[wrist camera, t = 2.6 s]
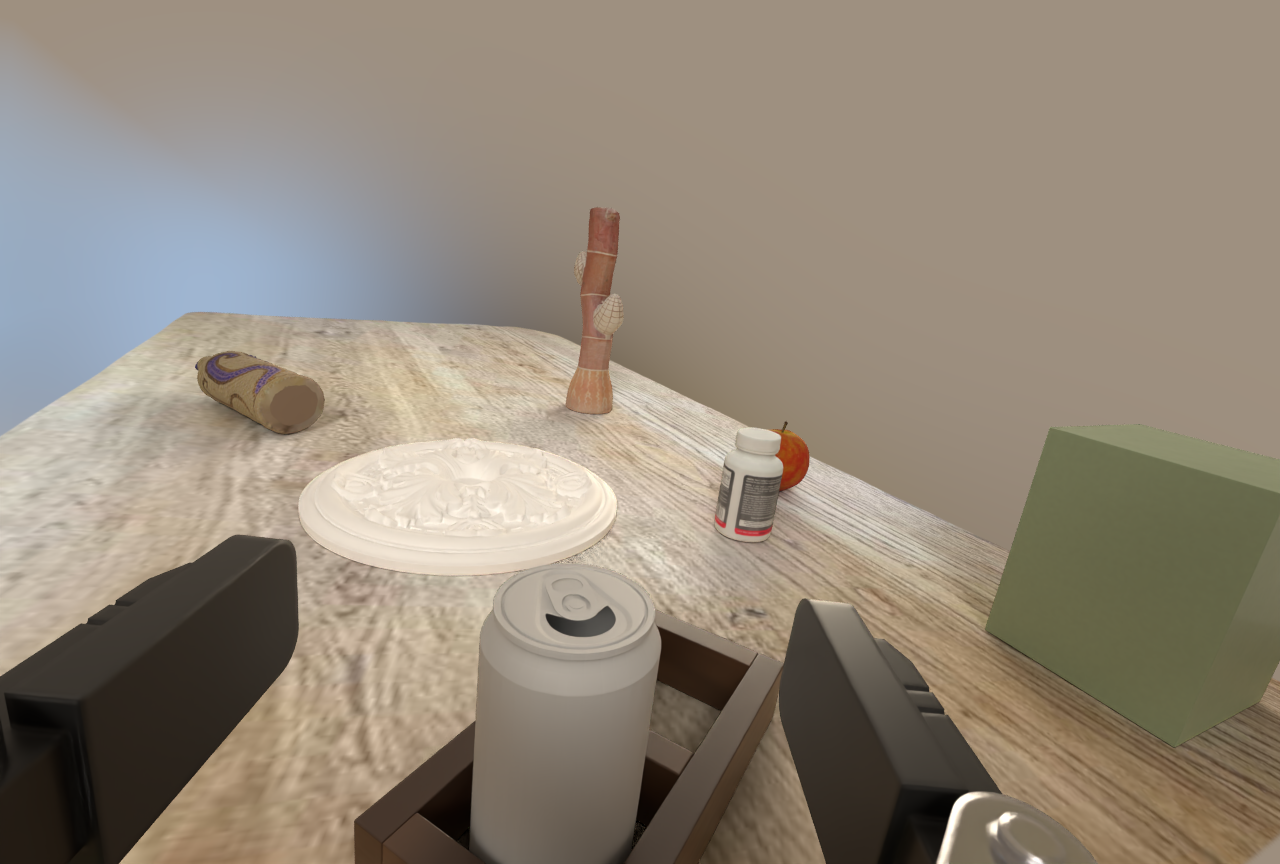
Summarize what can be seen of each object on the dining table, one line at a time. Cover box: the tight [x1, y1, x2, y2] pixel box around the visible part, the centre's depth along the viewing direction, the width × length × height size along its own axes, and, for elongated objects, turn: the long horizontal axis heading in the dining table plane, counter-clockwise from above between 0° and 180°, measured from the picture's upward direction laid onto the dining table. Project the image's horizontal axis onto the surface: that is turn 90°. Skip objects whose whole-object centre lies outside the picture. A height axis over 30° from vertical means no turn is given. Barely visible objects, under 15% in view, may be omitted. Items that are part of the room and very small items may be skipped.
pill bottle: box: [715, 428, 783, 542], centre depth 56 cm, size 5×5×10 cm
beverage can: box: [469, 563, 661, 864], centre depth 23 cm, size 6×6×12 cm
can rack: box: [354, 609, 784, 864], centre depth 28 cm, size 10×19×4 cm, turn 150°
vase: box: [565, 207, 623, 414], centre depth 92 cm, size 11×7×30 cm
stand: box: [985, 424, 1280, 748], centre depth 41 cm, size 12×12×16 cm
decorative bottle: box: [195, 351, 325, 434], centre depth 74 cm, size 26×8×7 cm, turn 53°
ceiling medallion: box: [298, 438, 617, 576], centre depth 56 cm, size 28×28×3 cm
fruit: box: [769, 422, 809, 491], centre depth 69 cm, size 7×7×8 cm
